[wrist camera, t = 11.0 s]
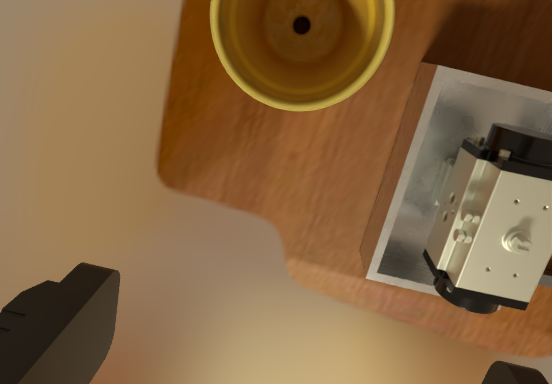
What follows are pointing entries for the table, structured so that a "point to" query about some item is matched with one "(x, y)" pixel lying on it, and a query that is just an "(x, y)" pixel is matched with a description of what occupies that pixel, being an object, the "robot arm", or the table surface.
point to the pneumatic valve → (493, 220)
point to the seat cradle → (436, 162)
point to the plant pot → (301, 48)
